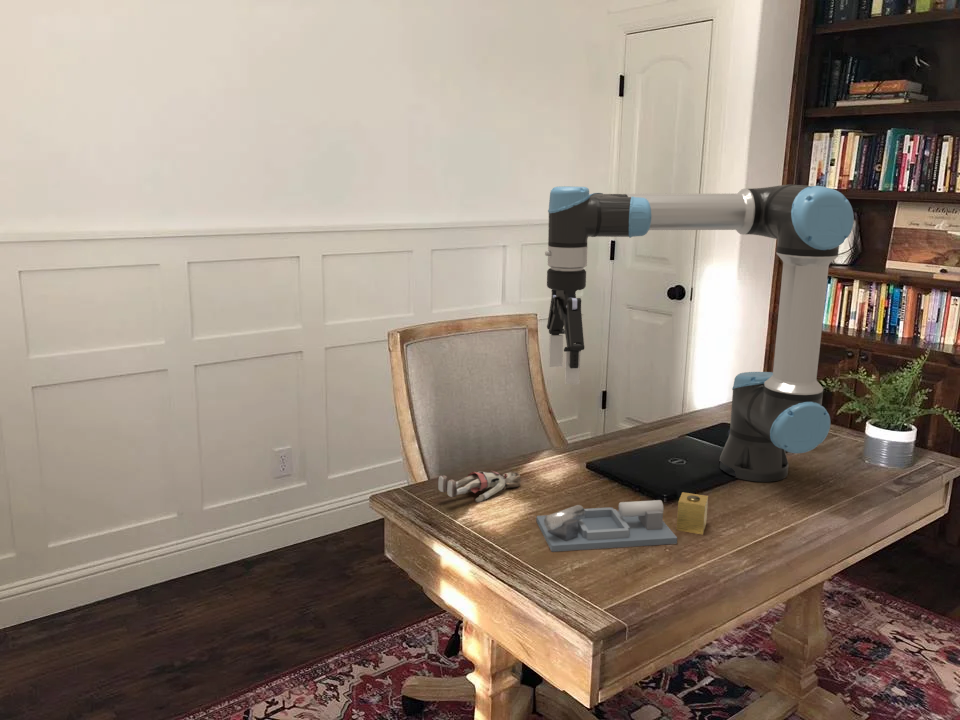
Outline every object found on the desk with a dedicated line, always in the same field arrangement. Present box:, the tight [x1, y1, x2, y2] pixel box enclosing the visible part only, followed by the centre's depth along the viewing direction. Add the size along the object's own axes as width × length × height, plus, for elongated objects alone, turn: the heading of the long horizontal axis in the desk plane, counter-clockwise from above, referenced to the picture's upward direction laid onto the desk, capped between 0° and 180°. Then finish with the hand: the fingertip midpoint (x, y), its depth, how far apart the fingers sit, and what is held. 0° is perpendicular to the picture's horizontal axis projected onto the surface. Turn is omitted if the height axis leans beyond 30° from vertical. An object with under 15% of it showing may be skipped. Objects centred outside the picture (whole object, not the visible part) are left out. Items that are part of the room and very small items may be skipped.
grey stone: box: [544, 504, 585, 541], centre depth 157 cm, size 8×5×5 cm, turn 128°
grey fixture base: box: [535, 499, 678, 552], centre depth 160 cm, size 24×13×6 cm, turn 99°
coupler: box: [676, 491, 709, 536], centre depth 162 cm, size 5×5×6 cm
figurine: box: [437, 470, 522, 503], centre depth 177 cm, size 6×6×20 cm
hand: (563, 374), depth 166 cm, fingers open, 13 cm apart
